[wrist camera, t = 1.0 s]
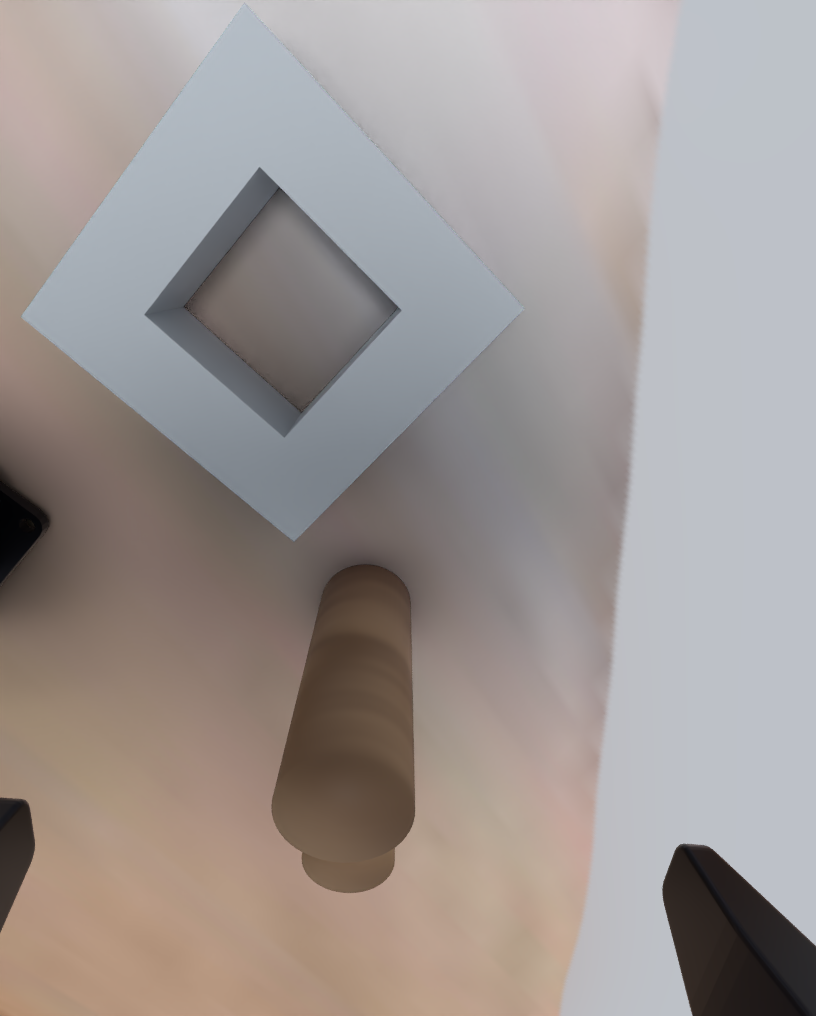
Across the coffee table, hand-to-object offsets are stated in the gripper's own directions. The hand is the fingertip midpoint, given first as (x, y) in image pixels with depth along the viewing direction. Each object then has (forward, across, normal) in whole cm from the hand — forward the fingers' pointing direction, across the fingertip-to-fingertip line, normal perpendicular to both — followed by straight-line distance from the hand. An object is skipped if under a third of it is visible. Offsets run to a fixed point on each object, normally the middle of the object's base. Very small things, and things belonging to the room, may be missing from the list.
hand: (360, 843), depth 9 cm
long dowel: (+13, 0, +4) cm, 14 cm away
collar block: (+13, +3, -6) cm, 15 cm away
